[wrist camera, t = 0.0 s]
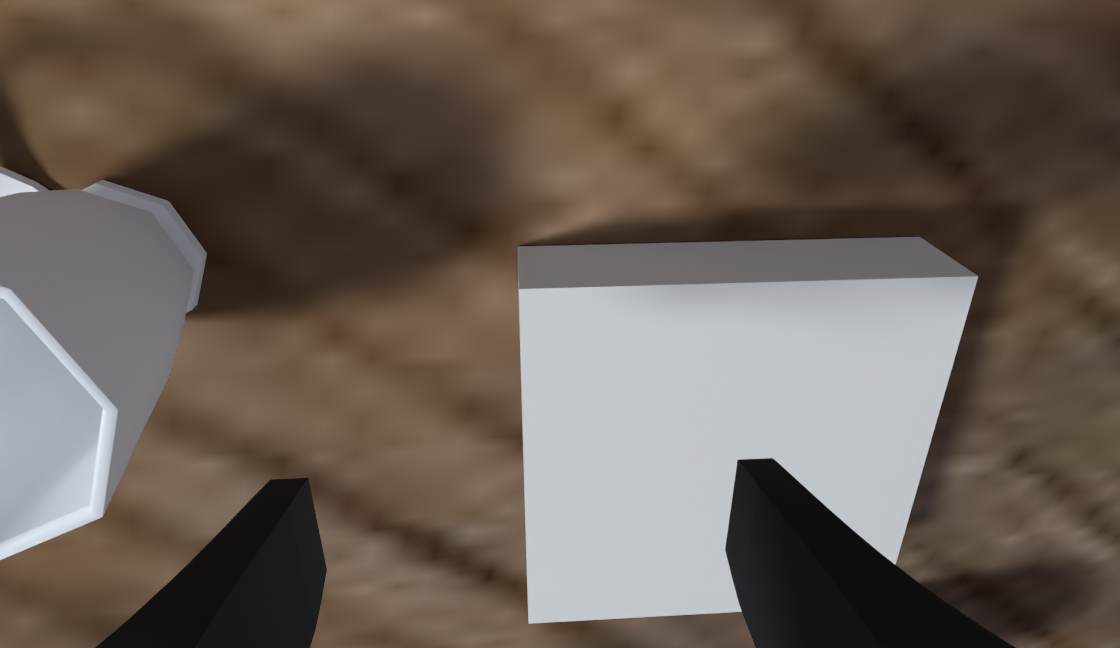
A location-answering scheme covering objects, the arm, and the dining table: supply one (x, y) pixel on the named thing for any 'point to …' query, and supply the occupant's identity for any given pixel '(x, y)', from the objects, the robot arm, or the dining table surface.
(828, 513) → the robot arm
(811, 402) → the base block
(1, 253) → the cup
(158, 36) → the dining table surface
